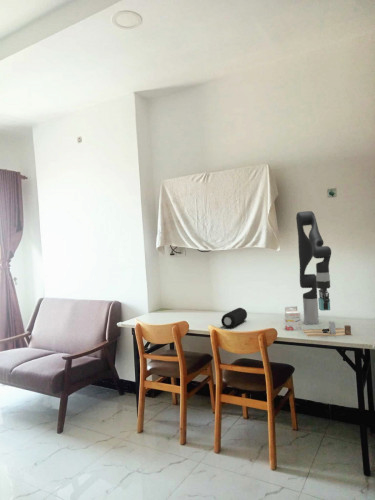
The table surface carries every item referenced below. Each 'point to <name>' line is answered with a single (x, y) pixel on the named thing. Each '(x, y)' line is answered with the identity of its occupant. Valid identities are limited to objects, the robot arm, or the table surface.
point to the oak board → (319, 333)
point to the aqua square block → (321, 304)
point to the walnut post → (347, 329)
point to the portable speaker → (234, 317)
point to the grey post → (332, 328)
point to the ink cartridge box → (292, 319)
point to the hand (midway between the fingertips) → (324, 308)
